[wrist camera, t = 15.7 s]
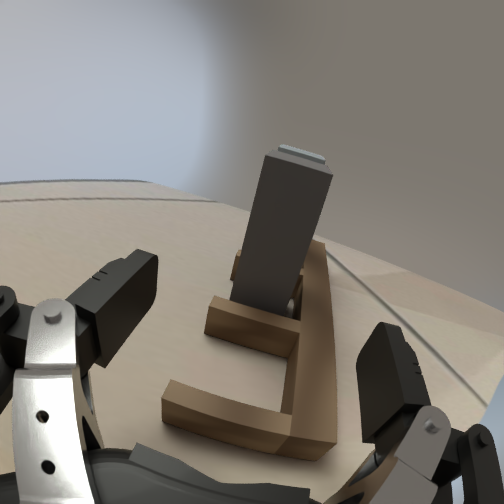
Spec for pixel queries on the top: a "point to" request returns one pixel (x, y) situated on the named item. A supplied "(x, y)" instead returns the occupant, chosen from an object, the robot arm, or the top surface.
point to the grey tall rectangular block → (279, 230)
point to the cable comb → (296, 380)
